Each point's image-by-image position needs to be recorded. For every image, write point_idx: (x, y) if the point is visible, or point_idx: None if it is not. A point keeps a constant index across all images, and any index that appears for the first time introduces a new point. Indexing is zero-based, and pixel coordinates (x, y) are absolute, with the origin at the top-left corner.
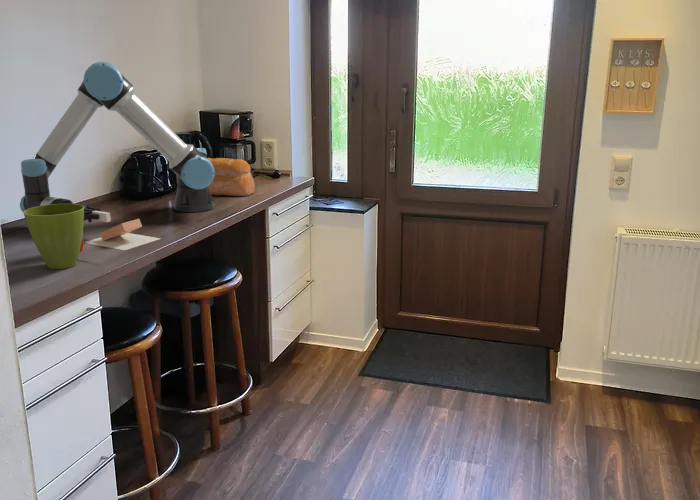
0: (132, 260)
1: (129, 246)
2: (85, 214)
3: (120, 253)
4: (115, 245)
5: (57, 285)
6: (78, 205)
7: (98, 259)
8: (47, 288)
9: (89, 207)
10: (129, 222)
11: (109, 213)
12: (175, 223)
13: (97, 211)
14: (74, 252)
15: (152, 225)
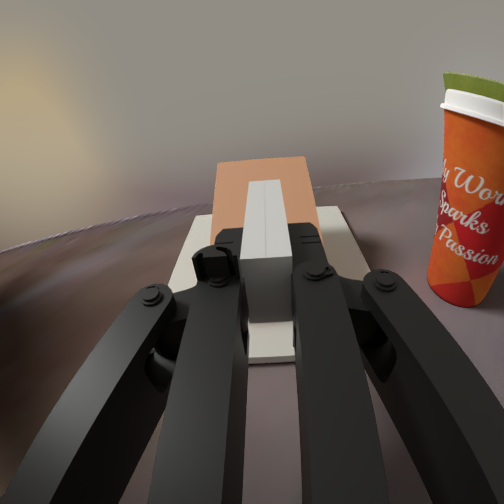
0: (356, 183)
1: None
2: (361, 281)
3: (350, 211)
4: (327, 238)
5: None
6: (454, 75)
7: (411, 213)
8: None
9: (70, 469)
10: (268, 162)
11: (253, 184)
12: (15, 295)
13: (258, 231)
14: None
15: (24, 333)
